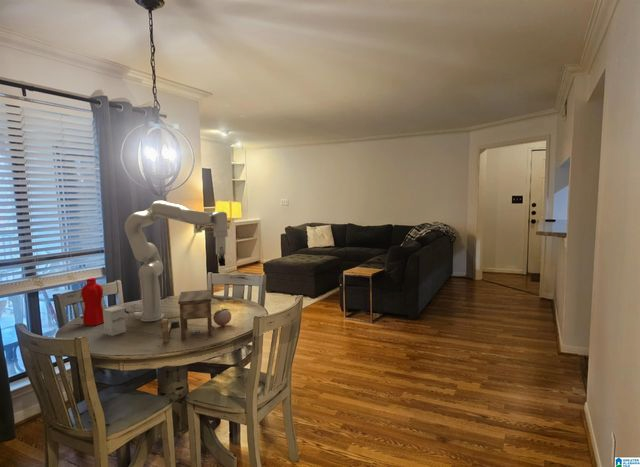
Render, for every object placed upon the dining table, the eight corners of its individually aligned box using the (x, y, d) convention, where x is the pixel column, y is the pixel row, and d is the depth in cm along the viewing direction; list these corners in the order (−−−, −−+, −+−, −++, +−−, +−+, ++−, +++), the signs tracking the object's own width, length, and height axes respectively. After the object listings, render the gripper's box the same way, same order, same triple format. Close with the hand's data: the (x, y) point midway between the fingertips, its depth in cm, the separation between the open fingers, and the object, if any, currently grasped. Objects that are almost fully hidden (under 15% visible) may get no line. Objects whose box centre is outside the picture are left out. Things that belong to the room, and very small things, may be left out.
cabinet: (180, 341, 187) (178, 301, 185) (182, 328, 205) (180, 291, 203) (213, 337, 191) (211, 298, 189) (212, 325, 209) (211, 289, 207)
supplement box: (112, 336, 194) (110, 311, 193) (104, 333, 198) (102, 309, 197) (126, 331, 201) (124, 307, 199) (118, 329, 205) (116, 305, 203)
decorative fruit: (222, 330, 200) (221, 311, 199) (211, 327, 204) (210, 309, 203) (235, 325, 208) (234, 306, 207) (224, 322, 212) (223, 304, 211)
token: (190, 335, 195) (190, 333, 195) (190, 332, 199) (190, 330, 199) (199, 334, 196) (199, 332, 196) (200, 331, 200) (199, 329, 200)
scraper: (175, 341, 186) (174, 319, 185) (155, 343, 184) (154, 320, 183) (179, 326, 208) (178, 305, 207) (161, 327, 206) (160, 307, 205)
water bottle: (93, 319, 221) (89, 275, 218) (108, 321, 217) (104, 277, 214) (78, 325, 212) (74, 279, 209) (93, 327, 208) (89, 280, 206)
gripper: (213, 232, 227) (214, 262, 229) (214, 235, 211) (215, 267, 213) (226, 232, 229) (227, 261, 231) (228, 235, 213) (229, 266, 215)
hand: (221, 264), depth 222 cm, fingers open, 9 cm apart
